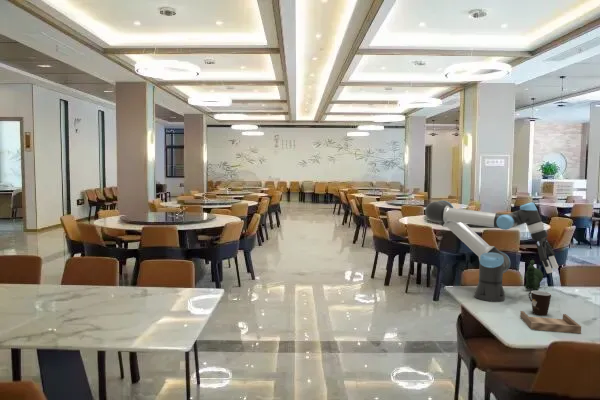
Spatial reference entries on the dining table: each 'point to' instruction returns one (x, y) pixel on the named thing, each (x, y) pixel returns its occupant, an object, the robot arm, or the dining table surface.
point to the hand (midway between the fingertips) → (553, 270)
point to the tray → (551, 323)
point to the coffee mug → (540, 302)
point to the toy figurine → (533, 276)
